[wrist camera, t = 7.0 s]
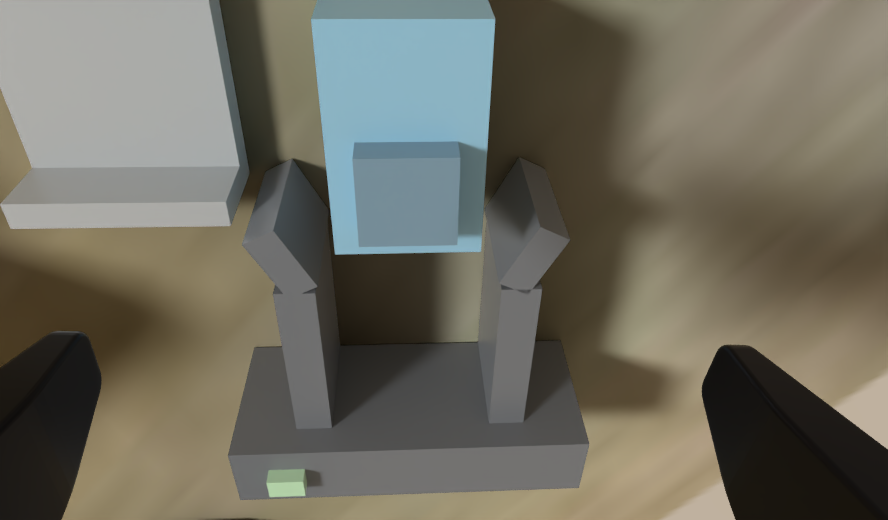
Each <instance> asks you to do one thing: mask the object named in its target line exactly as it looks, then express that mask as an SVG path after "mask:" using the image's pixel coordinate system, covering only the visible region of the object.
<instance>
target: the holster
mask: <svg viewBox="0 0 888 520" xmlns="http://www.w3.org/2000/svg"><path fill="white" fill-rule="evenodd" d="M0 88H1V91H2V93H3V96H4V98H5V101H6V103H7V106H8V108H9V111H10V113H11V116H12V118H13V121H14V123H15V126H16V128H17V131H18V133H19V136H20V138H21V141H22V143H23V146H24V148H25V151H26V153H27V156H28V158H29V161H30V163H31V166H32V169H31V170H30V171H29V172H28V173H27V175H26V176H25V177H24V178H23V179H22V180H21V181H20V182H19V184H18V185H17V186H16V187H15V188H14V189H13V190H12V191H11V192H10V194H9V195H8V196H7V197H6V198H5V199H4V200H3V201H2V203H1V204H0V206H1V208H2V210H3V212H4V215H5V217H6V219H7V221H8V224H9V226H10V228H11V229H41V228H117V227H194V226H231V224H232V221H233V218H234V216H235V213H236V210H237V207H238V204H239V202H240V199H241V196H242V193H243V190H244V188H245V185H246V182H247V179H248V176H249V174H250V172H249V166H248V161H247V155H246V149H245V144H244V138H243V132H242V127H241V121H240V115H239V110H238V104H237V98H236V93H235V87H234V81H233V76H232V70H231V65H230V59H229V53H228V48H227V42H226V36H225V31H224V25H223V19H222V14H221V8H220V2H219V0H0Z"/></svg>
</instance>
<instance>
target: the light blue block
mask: <svg viewBox="0 0 888 520" xmlns="http://www.w3.org/2000/svg"><path fill="white" fill-rule="evenodd" d="M311 23H312V33H313V43H314V53H315V62H316V72H317V82H318V92H319V102H320V112H321V121H322V131H323V141H324V151H325V161H326V171H327V180H328V190H329V200H330V210H331V220H332V230H333V239H334V249H335V255H338V254H389V253H440V252H481V242H482V226H483V210H484V194H485V178H486V162H487V146H488V130H489V113H490V97H491V81H492V65H493V49H494V33H495V17H494V14H493V12H492V9H491V6H490V4H489V1H488V0H317V3H316V6H315V9H314V12H313V15H312V18H311Z"/></svg>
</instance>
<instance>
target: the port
mask: <svg viewBox="0 0 888 520" xmlns="http://www.w3.org/2000/svg"><path fill="white" fill-rule="evenodd" d="M485 213H486V218H487V223H486V237H485V251H484V265H483V279H482V293H481V307H480V321H479V335H478V342H474V343H431V344H388V345H345V346H340V339H339V329H338V319H337V309H336V300H335V290H334V280H333V270H332V260H331V250H330V241H329V231H328V216H329V209H328V208H327V207H326V205H325V204H324V202H323V201H322V200H321V198H320V197H319V195H318V194H317V193H316V191H315V190H314V188H313V187H312V186H311V184H310V183H309V181H308V180H307V179H306V177H305V176H304V174H303V173H302V172H301V170H300V169H299V167H298V166H297V165H296V163H295V162H294V160H293V159H290V160H288V161H286V162H284V163H282V164H280V165H278V166H276V167H274V168H272V169H270V170H268V171H266V172H265V175H264V178H263V181H262V184H261V187H260V190H259V193H258V197H257V200H256V203H255V206H254V209H253V212H252V215H251V218H250V221H249V225H248V228H247V231H246V234H245V237H244V240H243V243H242V246H243V247H244V248H245V249H246V250H247V251H248V253H249V254H250V255H251V256H252V257H253V259H254V260H255V261H256V262H257V263H258V264H259V266H260V267H261V268H262V269H263V270H264V272H265V273H266V274H267V275H268V276H269V278H270V279H271V280H272V281H273V282H274V283H275V288H274V292H273V297H274V303H275V309H276V315H277V320H278V326H279V332H280V337H281V343H282V347H258V348H254V351H253V355H252V359H251V364H250V368H249V372H248V376H247V380H246V384H245V388H244V392H243V396H242V400H241V404H240V409H239V413H238V417H237V421H236V425H235V429H234V433H233V437H232V441H231V445H230V449H229V454H228V457H229V461H230V465H231V468H232V472H233V475H234V479H235V482H236V486H237V489H238V493H239V496H240V500H253V499H281V498H309V497H337V496H365V495H393V494H421V493H449V492H476V491H504V490H532V489H560V488H579V485H580V481H581V477H582V472H583V468H584V464H585V460H586V456H587V452H588V448H589V441H588V437H587V434H586V430H585V427H584V423H583V419H582V416H581V412H580V409H579V405H578V401H577V398H576V394H575V391H574V387H573V383H572V380H571V376H570V373H569V369H568V365H567V362H566V358H565V355H564V351H563V347H562V344H561V341H535V336H536V329H537V322H538V315H539V308H540V301H541V294H542V286H541V283H540V279H541V277H542V276H543V275H544V273H545V272H546V271H547V270H548V268H549V267H550V266H551V264H552V263H553V262H554V261H555V259H556V258H557V257H558V255H559V254H560V253H561V252H562V250H563V249H564V248H565V246H566V245H567V244H568V243H569V241H570V238H569V235H568V232H567V229H566V226H565V224H564V221H563V218H562V215H561V212H560V210H559V207H558V204H557V201H556V198H555V196H554V193H553V190H552V187H551V184H550V181H549V179H548V176H547V173H546V170H545V169H544V168H542V167H540V166H537V165H535V164H533V163H531V162H529V161H527V160H525V159H523V158H521V157H519V158H518V159H517V161H516V162H515V164H514V165H513V167H512V169H511V170H510V172H509V173H508V175H507V176H506V178H505V179H504V181H503V182H502V184H501V185H500V187H499V188H498V190H497V191H496V193H495V194H494V196H493V197H492V199H491V200H490V202H489V203H488V205H487V206H486V208H485Z"/></svg>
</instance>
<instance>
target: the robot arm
mask: <svg viewBox="0 0 888 520" xmlns="http://www.w3.org/2000/svg"><path fill="white" fill-rule="evenodd" d="M100 389H101V372H100V369H99V366H98V363H97V360H96V357H95V354H94V351H93V348H92V345H91V342H90V340H89V337H88V336H87V335H86V334H85V333H83V332H79V331H55V332H51V333H49V334H47V335H46V336H44V337H43V338H42V339H40V340H39V341H37V342H36V343H34V344H33V345H32V346H30V347H29V348H27V349H26V350H25V351H23V352H22V353H20V354H19V355H17V356H16V357H15V358H13V359H12V360H10V361H9V362H8V363H6V364H5V365H3V366H2V367H1V368H0V520H61V519H62V517H63V514H64V512H65V509H66V507H67V504H68V501H69V499H70V496H71V493H72V491H73V487H74V484H75V481H76V477H77V474H78V470H79V467H80V463H81V459H82V456H83V452H84V448H85V445H86V441H87V437H88V434H89V430H90V426H91V423H92V419H93V415H94V412H95V408H96V404H97V401H98V397H99V393H100ZM702 398H703V402H704V407H705V411H706V415H707V419H708V423H709V427H710V431H711V435H712V439H713V443H714V448H715V452H716V456H717V460H718V464H719V468H720V472H721V476H722V480H723V483H724V487H725V491H726V494H727V497H728V500H729V502H730V506H731V508H732V511H733V514H734V516H735V519H736V520H888V449H886V448H885V447H884V446H882V445H881V444H880V443H878V442H877V441H875V440H874V439H873V438H872V437H870V436H869V435H868V434H866V433H865V432H864V431H862V430H861V429H860V428H859V427H857V426H856V425H855V424H853V423H852V422H851V421H849V420H848V419H847V418H845V417H844V416H843V415H841V414H840V413H839V412H837V411H836V410H835V409H833V408H832V407H831V406H830V405H828V404H827V403H826V402H824V401H823V400H822V399H820V398H819V397H818V396H816V395H815V394H814V393H812V392H811V391H810V390H808V389H807V388H806V387H804V386H803V385H802V384H800V383H799V382H798V381H797V380H795V379H794V378H793V377H791V376H790V375H789V374H787V373H786V372H785V371H783V370H782V369H781V368H779V367H778V366H777V365H775V364H774V363H773V362H771V361H770V360H769V359H767V358H766V357H765V356H764V355H762V354H761V353H760V352H758V351H757V350H756V349H754V348H753V347H751V346H747V345H723V346H722V347H720V348H719V349H718V351H717V352H716V355H715V357H714V359H713V361H712V363H711V366H710V368H709V370H708V372H707V374H706V376H705V379H704V381H703V385H702Z"/></svg>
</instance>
